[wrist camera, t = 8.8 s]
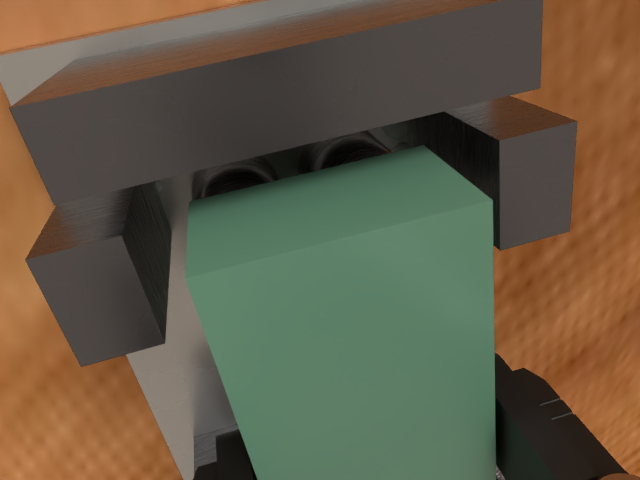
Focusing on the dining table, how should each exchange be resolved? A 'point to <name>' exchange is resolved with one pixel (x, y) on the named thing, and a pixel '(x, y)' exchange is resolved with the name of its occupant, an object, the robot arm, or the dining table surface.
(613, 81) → the dining table surface
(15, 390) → the dining table surface
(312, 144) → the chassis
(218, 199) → the green block
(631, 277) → the dining table surface
